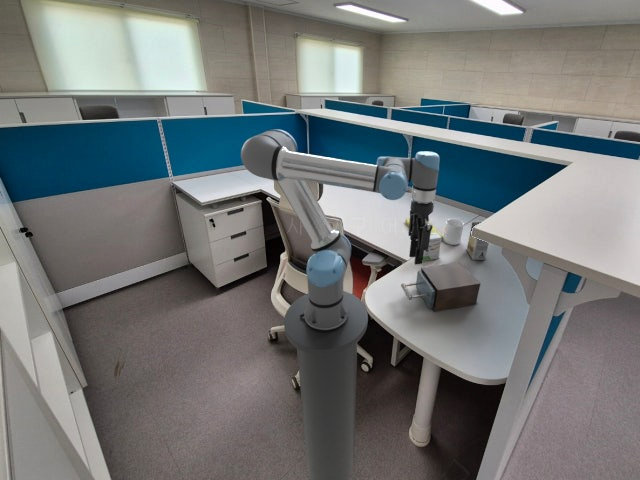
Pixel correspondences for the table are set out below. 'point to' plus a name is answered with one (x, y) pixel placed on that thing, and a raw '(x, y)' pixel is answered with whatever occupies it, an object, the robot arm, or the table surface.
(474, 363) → the table surface
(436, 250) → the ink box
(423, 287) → the drawer
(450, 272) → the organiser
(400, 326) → the table surface
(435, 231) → the yellow flat slab
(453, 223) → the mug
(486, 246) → the coffee box
